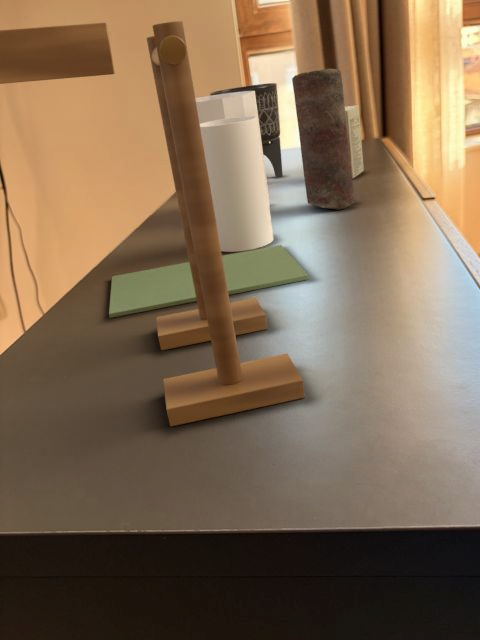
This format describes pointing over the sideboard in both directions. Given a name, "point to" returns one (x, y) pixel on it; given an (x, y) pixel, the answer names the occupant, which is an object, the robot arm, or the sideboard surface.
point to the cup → (237, 183)
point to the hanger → (55, 53)
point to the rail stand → (206, 266)
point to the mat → (178, 286)
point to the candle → (324, 138)
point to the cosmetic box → (354, 139)
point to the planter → (266, 120)
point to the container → (228, 109)
